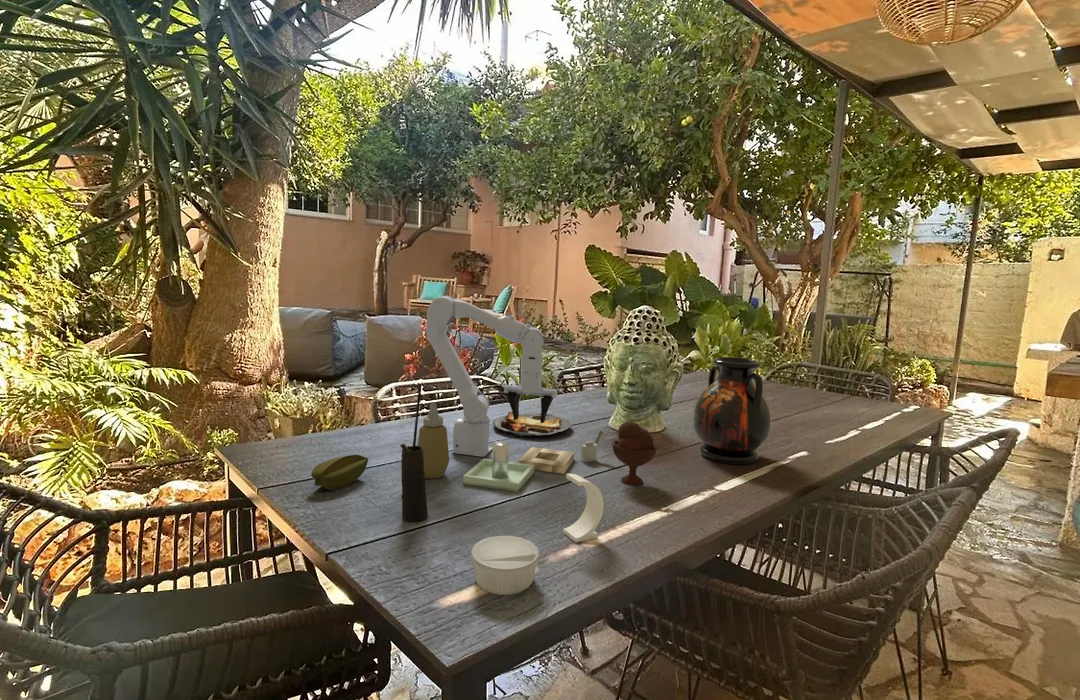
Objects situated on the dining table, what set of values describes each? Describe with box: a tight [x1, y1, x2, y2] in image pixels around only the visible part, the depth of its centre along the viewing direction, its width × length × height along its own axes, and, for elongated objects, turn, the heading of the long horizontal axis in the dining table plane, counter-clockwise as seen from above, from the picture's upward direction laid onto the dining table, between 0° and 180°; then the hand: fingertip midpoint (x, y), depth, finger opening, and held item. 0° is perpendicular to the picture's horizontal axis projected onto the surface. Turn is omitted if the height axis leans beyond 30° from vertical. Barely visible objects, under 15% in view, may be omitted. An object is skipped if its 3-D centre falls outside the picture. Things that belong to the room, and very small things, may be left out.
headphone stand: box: [562, 473, 605, 543], centre depth 113 cm, size 5×6×12 cm
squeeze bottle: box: [417, 402, 450, 480], centre depth 141 cm, size 8×8×18 cm
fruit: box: [310, 454, 369, 491], centre depth 134 cm, size 11×12×7 cm
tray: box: [462, 458, 535, 493], centre depth 142 cm, size 14×14×2 cm
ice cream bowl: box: [612, 421, 658, 486], centre depth 143 cm, size 11×11×15 cm
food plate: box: [492, 411, 573, 437], centre depth 188 cm, size 25×23×4 cm
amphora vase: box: [691, 356, 773, 465], centre depth 166 cm, size 22×22×28 cm
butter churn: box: [399, 383, 429, 523], centre depth 117 cm, size 9×10×28 cm
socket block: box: [518, 446, 575, 475], centre depth 155 cm, size 12×12×2 cm
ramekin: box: [470, 535, 540, 596], centre depth 96 cm, size 11×11×5 cm
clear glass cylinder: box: [491, 441, 510, 479], centre depth 142 cm, size 4×4×8 cm
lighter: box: [580, 429, 608, 463], centre depth 159 cm, size 7×2×8 cm, turn 120°
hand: (529, 420), depth 161 cm, fingers open, 7 cm apart
